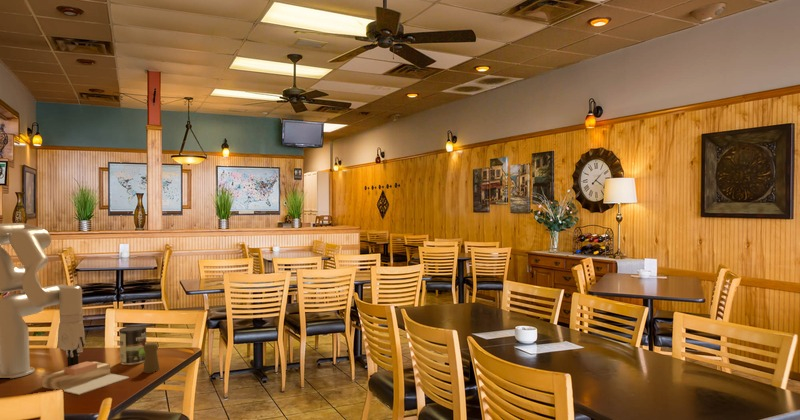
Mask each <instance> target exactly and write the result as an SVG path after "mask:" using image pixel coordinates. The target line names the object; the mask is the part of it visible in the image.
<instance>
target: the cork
mask: <svg viewBox="0 0 800 420" xmlns="http://www.w3.org/2000/svg"><path fill="white" fill-rule="evenodd" d="M158 349H159V345H158V343H157V342H146V344H145V345H144V351H145V360H144V362H143V368H142V369H143V370H142V372H143V373H145V374H152V373H151V372H153V373H156V372H155V371H157V372H159V371H160V364H159V363H160V362H159V357H158ZM158 370H159V371H158Z"/></svg>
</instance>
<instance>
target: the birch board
mask: <svg viewBox="0 0 800 420" xmlns="http://www.w3.org/2000/svg"><path fill="white" fill-rule="evenodd" d="M92 362H94V363H97V369H93V370H90V371H87V372H83V373H80V374H77V375H71V374H66V373H64V369H62V370H60V371H59V370H58V371H55V372H52V373H49V374H45V375H42V376H41V378H42V379H41V381H42V382H41V383H42V388H45V389H50V390H55V391H57V390H56V389H64V388H67V387H70V386H73V385H76V384H79V383H82V382H86V381H89V380H92V379H95V378H98V377H101V376H104V375H108V374H111V364H110V363H106V362H105V363H104V362H99V361H95V360H94V361H92Z"/></svg>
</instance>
